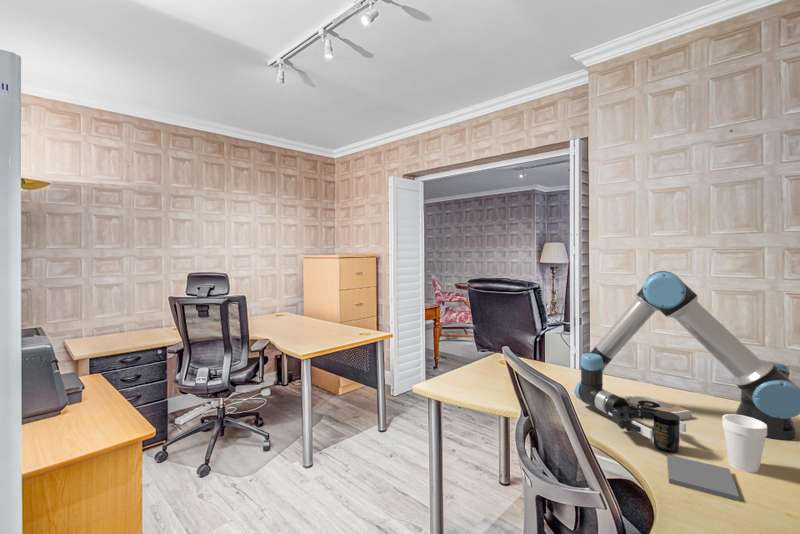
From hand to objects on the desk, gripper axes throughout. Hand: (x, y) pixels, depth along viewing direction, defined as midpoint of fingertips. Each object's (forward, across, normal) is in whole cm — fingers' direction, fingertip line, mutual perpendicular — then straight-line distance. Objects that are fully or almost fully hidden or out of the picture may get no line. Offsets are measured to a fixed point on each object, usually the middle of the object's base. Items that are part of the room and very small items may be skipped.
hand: (668, 431), depth 116 cm
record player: (-24, -25, -7) cm, 35 cm away
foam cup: (+13, -11, -6) cm, 18 cm away
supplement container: (-1, 0, -6) cm, 6 cm away
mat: (+13, +6, -6) cm, 16 cm away
